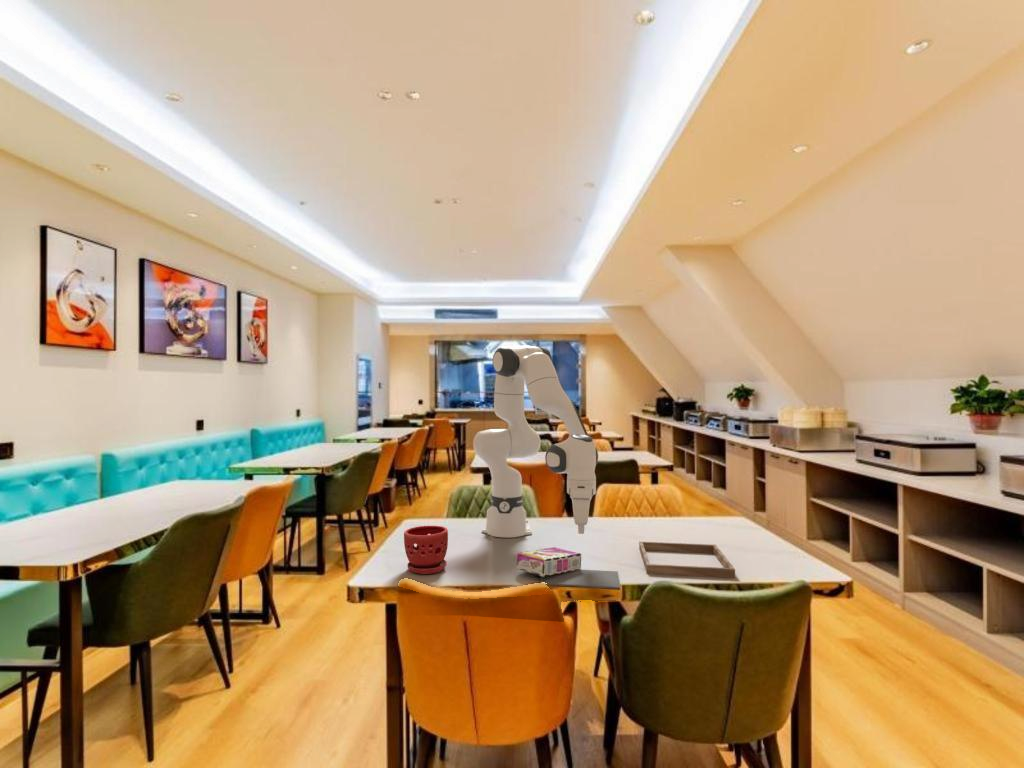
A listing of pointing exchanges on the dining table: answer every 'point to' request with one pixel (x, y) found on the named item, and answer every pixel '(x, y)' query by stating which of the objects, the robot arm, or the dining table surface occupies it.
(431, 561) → the plant pot
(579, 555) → the candy bar box
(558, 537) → the dining table surface
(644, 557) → the serving tray rim
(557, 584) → the mat
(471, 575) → the dining table surface
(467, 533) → the dining table surface
